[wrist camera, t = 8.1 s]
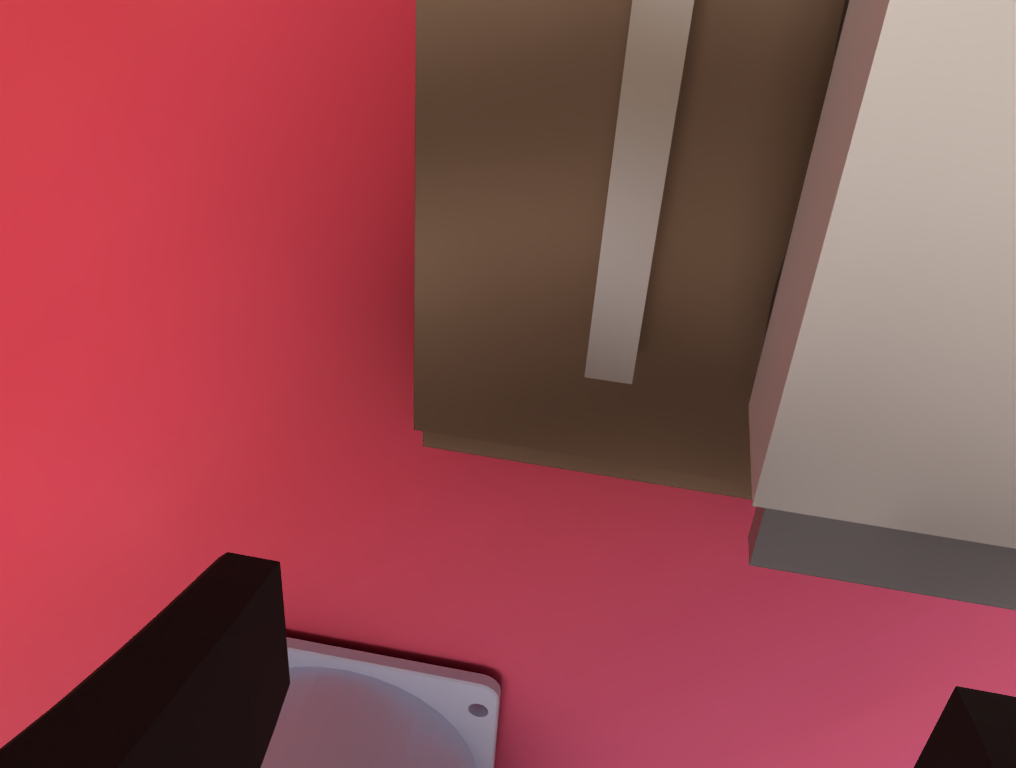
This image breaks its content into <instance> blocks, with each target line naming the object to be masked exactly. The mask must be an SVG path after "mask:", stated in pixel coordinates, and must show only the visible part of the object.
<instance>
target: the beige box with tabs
mask: <svg viewBox="0 0 1016 768" xmlns="http://www.w3.org/2000/svg"><path fill="white" fill-rule="evenodd" d="M749 432H750V459H751V487H752V506H756V511H755V515H754V518H753V522H752V525H751V529H750V533H749V536H748V541H749V565H752V566H758V567H763V568H769V569H775V570H781V571H787V572H793V573H799V574H805V575H811V576H817V577H822V578H828V579H834V580H840V581H846V582H852V583H858V584H864V585H870V586H875V587H881V588H887V589H893V590H899V591H905V592H911V593H917V594H923V595H929V596H934V597H940V598H946V599H952V600H958V601H964V602H970V603H976V604H982V605H988V606H993V607H999V608H1005V609H1011V610H1016V0H845V5H844V9H843V13H842V18H841V22H840V27H839V32H838V37H837V43H836V48H835V55H834V61H833V68H832V72H831V76H830V80H829V84H828V88H827V92H826V96H825V100H824V104H823V108H822V112H821V116H820V120H819V124H818V128H817V133H816V137H815V141H814V145H813V149H812V153H811V157H810V161H809V165H808V169H807V173H806V177H805V181H804V185H803V189H802V193H801V197H800V201H799V205H798V209H797V213H796V217H795V221H794V225H793V229H792V233H791V237H790V241H789V245H788V249H787V253H786V256H785V258H784V260H783V262H782V265H781V268H780V271H779V274H778V277H777V281H776V284H775V288H774V292H773V296H772V301H771V305H770V310H769V315H768V320H767V326H766V331H765V338H764V344H763V349H762V353H761V357H760V361H759V365H758V369H757V373H756V377H755V381H754V386H753V390H752V394H751V398H750V402H749Z"/></svg>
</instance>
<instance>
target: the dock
mask: <svg viewBox="0 0 1016 768" xmlns="http://www.w3.org/2000/svg"><path fill="white" fill-rule="evenodd" d="M844 5H845V0H416V98H415V294H414V430H420V431H423V446H425V447H432V448H438V449H444V450H450V451H456V452H462V453H468V454H474V455H481V456H487V457H493V458H499V459H505V460H511V461H517V462H524V463H530V464H536V465H542V466H548V467H554V468H560V469H567V470H573V471H579V472H585V473H591V474H597V475H603V476H609V477H616V478H622V479H628V480H634V481H640V482H646V483H652V484H659V485H665V486H671V487H677V488H683V489H689V490H695V491H702V492H708V493H714V494H720V495H726V496H732V497H738V498H745V499H751V500H752V487H751V459H750V432H749V402H750V398H751V394H752V390H753V386H754V381H755V377H756V373H757V369H758V365H759V361H760V357H761V353H762V349H763V344H764V338H765V331H766V326H767V320H768V315H769V310H770V305H771V301H772V296H773V292H774V288H775V284H776V281H777V277H778V274H779V271H780V268H781V265H782V262H783V260H784V258H785V256H786V253H787V249H788V245H789V241H790V237H791V233H792V229H793V225H794V221H795V217H796V213H797V209H798V205H799V201H800V197H801V193H802V189H803V185H804V181H805V177H806V173H807V169H808V165H809V161H810V157H811V153H812V149H813V145H814V141H815V137H816V133H817V128H818V124H819V120H820V116H821V112H822V108H823V104H824V100H825V96H826V92H827V88H828V84H829V80H830V76H831V72H832V68H833V61H834V55H835V48H836V43H837V37H838V32H839V27H840V22H841V18H842V13H843V9H844Z"/></svg>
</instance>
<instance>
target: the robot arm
mask: <svg viewBox="0 0 1016 768" xmlns="http://www.w3.org/2000/svg"><path fill="white" fill-rule="evenodd" d="M500 696H501V688H500V685H499V684H498V682H497V681H496V680H495V679H493V678H492V677H490V676H487V675H484V674H480V673H475V672H469V671H464V670H459V669H454V668H448V667H443V666H438V665H432V664H427V663H422V662H417V661H411V660H406V659H401V658H395V657H390V656H385V655H379V654H374V653H369V652H364V651H358V650H353V649H348V648H342V647H337V646H332V645H326V644H321V643H316V642H311V641H305V640H300V639H295V638H289V637H286V627H285V616H284V604H283V592H282V581H281V569H280V562H278V561H273V560H267V559H262V558H256V557H251V556H245V555H240V554H234V553H229V552H227V553H225V554H224V555H222V556H221V557H219V558H218V559H217V560H216V561H215V562H214V563H213V564H211V565H210V566H209V567H208V568H207V569H206V570H205V571H204V572H203V573H202V574H201V575H200V576H199V577H198V578H197V579H196V580H194V581H193V582H192V583H191V584H190V585H189V586H188V587H187V588H186V589H185V590H184V591H183V592H182V593H181V594H180V595H178V596H177V597H176V598H175V599H174V600H173V601H172V602H171V603H170V604H169V605H168V606H167V607H166V608H164V609H163V610H162V611H161V612H160V613H159V614H158V615H157V616H156V617H155V618H154V619H153V620H151V621H150V622H149V623H148V624H147V625H146V626H145V627H144V628H143V629H142V630H140V631H139V632H138V633H137V634H136V635H135V636H134V637H133V638H132V639H131V640H129V641H128V642H127V643H126V644H125V645H124V646H123V647H122V648H121V649H119V650H118V651H117V652H116V653H115V654H114V655H112V656H111V657H110V658H109V659H108V660H107V661H106V662H104V663H103V664H102V665H101V666H100V667H99V668H97V669H96V670H95V671H94V672H93V673H92V674H91V675H89V676H88V677H87V678H86V679H85V680H84V681H82V682H81V683H80V684H79V685H78V686H77V687H76V688H74V689H73V690H72V691H71V692H70V693H69V694H67V695H66V696H65V697H64V698H63V699H62V700H60V701H59V702H58V703H57V704H56V705H54V706H53V707H52V708H51V709H50V710H48V711H47V712H46V713H45V714H43V715H42V716H41V717H40V718H38V719H37V720H36V721H35V722H33V723H32V724H31V725H30V726H28V727H27V728H26V729H25V730H23V731H22V732H21V733H20V734H18V735H17V736H16V737H15V738H13V739H12V740H11V741H9V742H8V743H7V744H6V745H4V746H3V747H2V748H1V749H0V768H494V764H495V753H496V742H497V730H498V719H499V707H500ZM914 768H1016V697H1012V696H1007V695H1002V694H996V693H991V692H985V691H980V690H974V689H969V688H963V687H958V686H956V687H955V689H954V691H953V693H952V695H951V697H950V698H949V700H948V702H947V704H946V706H945V708H944V710H943V712H942V714H941V716H940V718H939V720H938V722H937V724H936V726H935V728H934V730H933V731H932V733H931V735H930V737H929V739H928V741H927V743H926V745H925V747H924V749H923V751H922V753H921V755H920V757H919V759H918V761H917V763H916V764H915V766H914Z"/></svg>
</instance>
